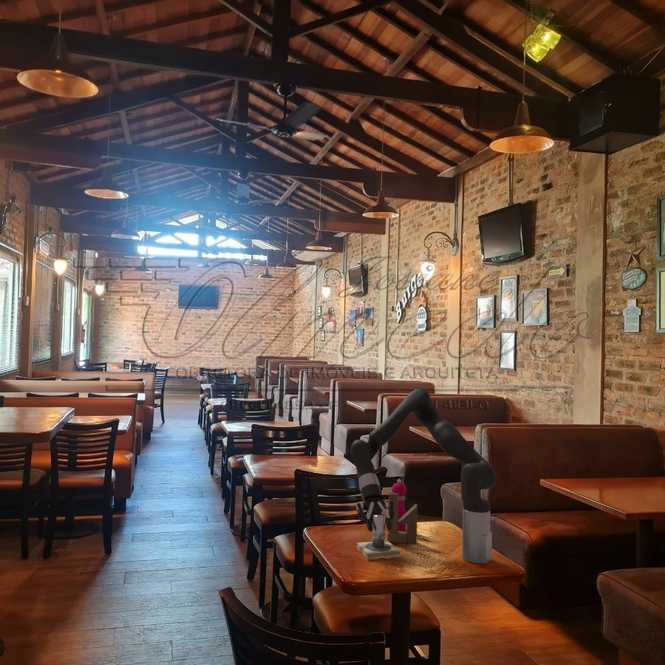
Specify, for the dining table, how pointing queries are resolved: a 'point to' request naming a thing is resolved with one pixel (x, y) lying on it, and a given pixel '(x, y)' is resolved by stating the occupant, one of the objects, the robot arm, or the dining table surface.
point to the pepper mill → (400, 501)
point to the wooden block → (407, 519)
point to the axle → (378, 531)
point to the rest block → (378, 550)
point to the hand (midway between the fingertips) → (380, 530)
